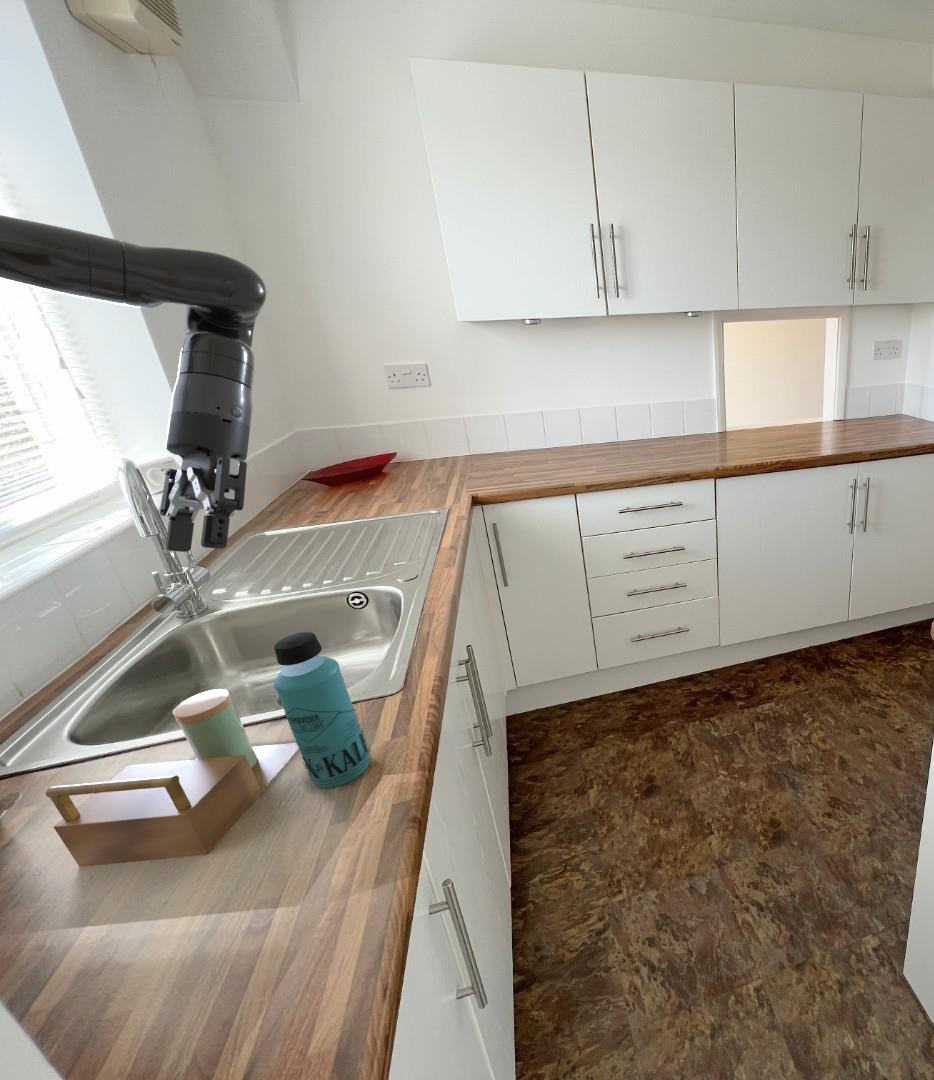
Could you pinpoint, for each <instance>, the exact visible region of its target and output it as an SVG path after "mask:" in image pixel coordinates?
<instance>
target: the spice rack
mask: <svg viewBox="0 0 934 1080" xmlns="http://www.w3.org/2000/svg"><path fill="white" fill-rule="evenodd" d="M296 744H297V742H289V743H278V744H266V745H255V746H252V747H253V749H254V752H255V754H256V756H257V762H256V764H255V765H254V766H253V767H252V768H251V767H250V765H249V762H248V760H247V758H246V756H245V755H239V756H227V757H216V758H205V759H197V758H196V757H195V758H194V759H184V760H173V761H172V760H171V761H162V762H161V761H160V762H151V763H138V764H129V765H127V766H125V767H124V768H123V769H121V770H120V771H119V772H118V773H117V774H115V775H114V776H113V777H112V778H111V779H109V780H108V781H99V782H88V783H87V782H86V783H75V784H66V785H65V784H64V785H55V786H50V787H48V788H47V789H46V791H45V796H46V797H47V798H49V799H50V800H51V802H52V803H53V805H54V806H55V808H56V810H57V811H58V813H59V814H60V816H61V817H62V819H61V820H59V821H58V822H57V823H56V824H55V825H54V826H53V829H54V830H55V832H56V833H57V835H58V837H59V838H60V840H61V841H62V843H63V844H64V846H65V847H66V849H67V850H68V852H69V854H70V855H71V857H72V858H73V859H74V861H75V863H76V864H77V866H78V867H79V868H82V867H91V866H93V867H94V866H101V865H112V864H123V863H124V864H125V863H134V862H145V861H156V860H166V859H176V858H187V857H196V856H207V855H209V854H210V853H211V852H212V850H213V849H214V848H215V847H216V846H217V845H218V844H219V842H221V840H223V838H224V837H225V836H226V835H227V833H228V832H229V831H230V830H231V829H232V828H233V826H235V824H236V823H237V822H238V821H239V820H240V819H241V817H242V816H243V815H244V814H245V813H246V812H247V810H248V809H249V808H250V807H251V806H252V805H253V804H254V802H255V801H256V800H257V799H258V798H259V796H260V795H261V794H262V793H263V791H265V790H266V788H267V787H268V786H269V785H270V784H271V782H272V781H273V780H274V779H275V778H276V777H277V775H278V774H280V772H281V771H282V770H283V769H284V768H285V766H286V765H287V764H288V763H289V762H290V761H291V760H292V758H293V757H294V756H295V755H296V754H297V753H298V752H299V751H300V750H299V747H298V745H297V746H296ZM81 795H90V796H89V797H88V798H86V799H85V800H84V801H82V802H81V803H80V804H79V805H77V807H76V805H75V804H74V802H73V800H72V798H71V797H72V796H81ZM70 796H71V797H70Z"/></svg>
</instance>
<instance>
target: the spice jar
mask: <svg viewBox="0 0 934 1080" xmlns="http://www.w3.org/2000/svg"><path fill="white" fill-rule="evenodd" d="M172 715H173V717H174V720H175V721H176V722H177V723H178V725H179V726H180V728H181V730H182V732H183V734H184V736H185V738H186V741H187V742H188V744H189V747H190V748H191V751H192V753H193V755H194V756H195V759H196V758H197V759H205V758H216V757H227V756H239V755H245V756H246V758H247V760H248V762H249V765H250V767H251V768H252V767H253V766H254V765H255V764H256V762H257V756H256V754H255V752H254V749H253V747H254V746H253V745H252V742H251V741H250V738H249V737H248V736H249V735H248V734H247V732H246V730H245V728H244V725H243V723H242V721H241V718H240V716H239V714H238V711H237V709H236V707H235V705H234V703H233V698H232V696H231V694H230V692H229V690H227V689H222V688H217V689H211V690H207V691H204V692H201V693H198V694H196V695H193V696H191V697H188V698H187V699H185V700H183V701H182V702H180V703H179V704H178V705H177V706H176V707H175V708H174V709H173V710H172Z"/></svg>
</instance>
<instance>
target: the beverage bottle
mask: <svg viewBox="0 0 934 1080" xmlns="http://www.w3.org/2000/svg"><path fill="white" fill-rule="evenodd" d="M273 649H274V653H275V657H276V662H277V663H278V665H280V666H284V667H283V668H282V669H281V670H280V672H279V673H278V674H277V676H276V677H275V679H274V681H273V687H274V690H275V691H276V693H277V696H278V698H279V701H280V703H281V706H282V708H283V710H284V711H283V712H284V714H283V716H284V717H285V719H286V722H287V723H288V726H289V727H290V728H289V727H288V728H289V730H290V731H291V735H292V736H293V738H294V743H297V744H296V746H297V745H298V747H299V750H298V751H299V753H300V755H299V756H300V757H299V758H301V759H302V760H301V762H302V764H303V766H304V769H305V772H306V774H307V775H308V776H309V778H310V781H311V783H312V784H314V785H315V786H316V787H318V788H320V789H321V788H322V789H331V788H337V787H340V786H343V785H345V784H348V783H349V782H351V781H353V780H355V779H357V778H358V777H360V775H361V774H363V773H364V771H366V769H368V767H369V764H370V760H371V757H372V756H371V755H372V754H371V750H370V748H369V744H368V743H367V739H366V738H365V733H364V730H363V728H362V725H361V724H360V722H359V718H358V715H357V713H356V711H357V708H356V709H355V708H354V706H353V703H352V700H351V697H350V694H349V692H348V689H347V686H346V683H345V680H344V677H343V674H342V672H341V669H340V664H339V662H338V661H337V660H336V659H334V658H332V657H328V656H324V655H319V654H320V653H321V652H322V649H323V648H322V645H321V643H320V641H319V639H318V637H317V636H316V634H315V632H312V631H303V632H297V633H293V634H290V635H287V636H285V637H283V638H281V639H279V640H278V641H276V643H275V644H274V646H273Z"/></svg>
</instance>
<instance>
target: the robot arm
mask: <svg viewBox="0 0 934 1080" xmlns="http://www.w3.org/2000/svg"><path fill="white" fill-rule="evenodd" d="M0 280H4V281H8V282H12V283H16V284H19V285H23V286H27V287H31V288H36V289H39V290H44V291H48V292H53V293H56V294H62V295H67V296H72V297H76V298H81V299H87V300H93V301H99V302H104V303H110V304H115V305H121V306H126V307H133V308H141V309H154V308H156V307H158V306H161V305H163V304H177V305H185V318H184V319H185V321H184V322H185V324H184V328H185V329H184V332H185V337H184V340H183V341H182V346H181V351H180V356H179V363H178V371H177V378H176V382H175V384H174V387H173V392H172V395H171V402H170V409H169V416H168V423H167V431H166V438H165V449H166V450H167V451H168V452H169V453H170V454H173V455H176V456H179V457H180V459H182V462H181V465H180V468H179V469H175V468H168V469H167V470H166V471H165V477H164V483H163V489H162V495H161V502H160V506H159V507H160V508H159V516H162V517H163V516H164V517H165V519H166V520H167V521H168V525H167V533H166V540H165V549H166V550H167V551H169V552H179V553H180V552H181V553H187V552H190V551H191V549H192V543H193V537H194V536H193V535H194V527H195V520H196V518H197V516H198V514H199V512H200V510H204V513H205V514H206V515H203V523H202V530H201V540H200V545H201V547H202V548H205V549H217V550H223V549H225V548H226V547H227V545H228V537H229V530H230V521H231V519H230V518H232V517H234V515H235V513H236V511H242V510H243V509H244V504H245V493H246V482H247V481H246V480H247V471H248V470H247V468H248V463H247V461H246V460H247V458H248V451H249V450H248V449H249V443H250V442H249V440H250V435H251V433H250V431H251V424H252V417H253V416H252V415H253V398H252V397H253V384H254V375H255V363H256V362H255V359H256V358H255V354H254V351H253V350H252V348H253V339H254V332H255V326H256V321H257V317H258V316H259V314H260V312H261V310H262V309H263V307H264V305H265V303H266V301H267V287H266V285H265V282H264V280H263V279H262V278H261V276H260V275H259V274H258V273H257V272H256V271H255V270H254V269H253V268H251V266H249V265H247V264H245V263H244V262H242V261H240V260H238V259H236V258H232V257H230V256H227V255H224V254H220V253H216V252H212V251H206V250H205V251H204V250H196V249H186V248H176V247H162V246H161V247H160V246H145V245H138V244H134V243H131V242H128V241H121V240H119V239H116V238H112V237H111V238H110V237H105V236H103V235H99V234H98V235H97V234H94V233H89V232H85V231H82V230H81V231H80V230H76V229H71V228H66V227H62V226H59V225H58V226H57V225H53V224H47V223H43V222H38V221H33V220H28V219H22V218H17V217H12V216H7V215H3V214H0Z"/></svg>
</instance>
